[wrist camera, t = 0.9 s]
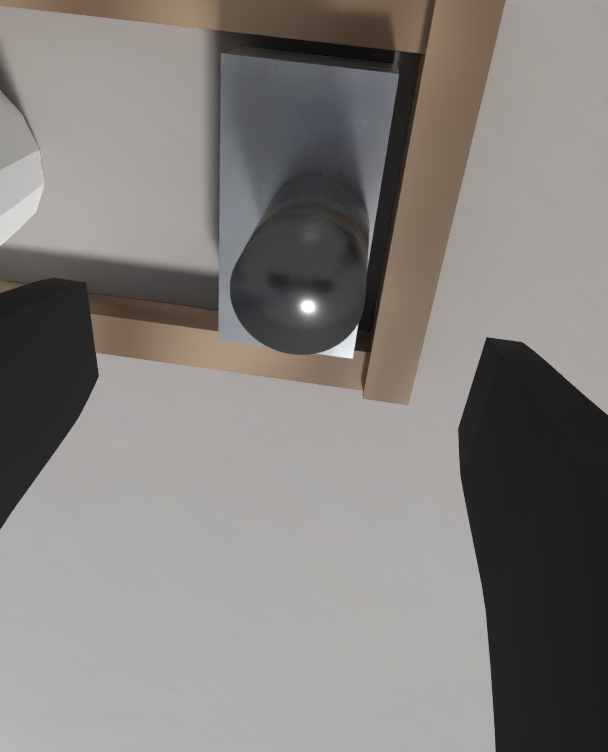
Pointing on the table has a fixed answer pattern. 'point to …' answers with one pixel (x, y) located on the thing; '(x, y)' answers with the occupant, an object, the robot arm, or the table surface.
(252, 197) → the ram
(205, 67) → the table surface
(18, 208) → the white tapered cylinder
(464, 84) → the wooden tray
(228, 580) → the table surface
